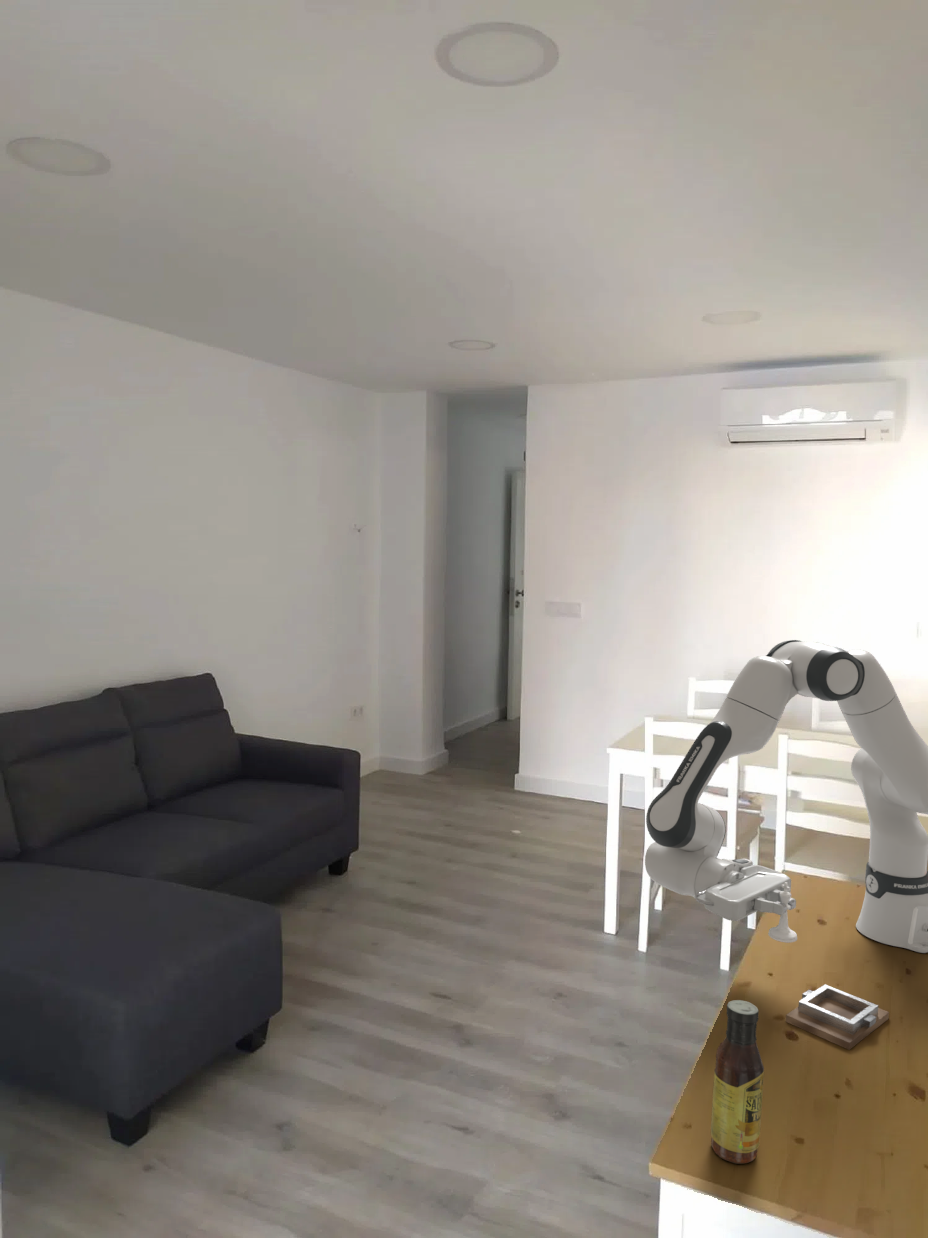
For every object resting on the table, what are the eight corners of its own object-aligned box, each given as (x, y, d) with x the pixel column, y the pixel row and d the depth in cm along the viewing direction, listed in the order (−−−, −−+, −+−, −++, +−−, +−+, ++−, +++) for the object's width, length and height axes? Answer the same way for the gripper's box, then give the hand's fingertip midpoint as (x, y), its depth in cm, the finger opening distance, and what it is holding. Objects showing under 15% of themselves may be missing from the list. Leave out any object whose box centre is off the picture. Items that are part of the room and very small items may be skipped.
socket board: (785, 1021, 153) (786, 1015, 152) (827, 994, 163) (827, 987, 162) (849, 1050, 144) (849, 1043, 144) (888, 1019, 154) (889, 1012, 154)
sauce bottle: (751, 1174, 115) (760, 1026, 113) (703, 1155, 118) (711, 1011, 117) (764, 1145, 121) (772, 1004, 119) (718, 1128, 124) (725, 991, 122)
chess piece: (783, 945, 157) (786, 890, 156) (762, 933, 162) (765, 880, 161) (803, 939, 160) (806, 885, 159) (782, 928, 164) (785, 876, 163)
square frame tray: (791, 1008, 155) (792, 998, 154) (818, 991, 161) (818, 982, 161) (859, 1038, 146) (860, 1027, 146) (884, 1018, 152) (885, 1008, 152)
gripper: (690, 881, 162) (759, 905, 152) (750, 856, 176) (817, 877, 166) (688, 914, 163) (757, 941, 153) (748, 887, 177) (815, 910, 166)
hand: (789, 907), depth 159 cm, fingers closed on chess piece, 2 cm apart
